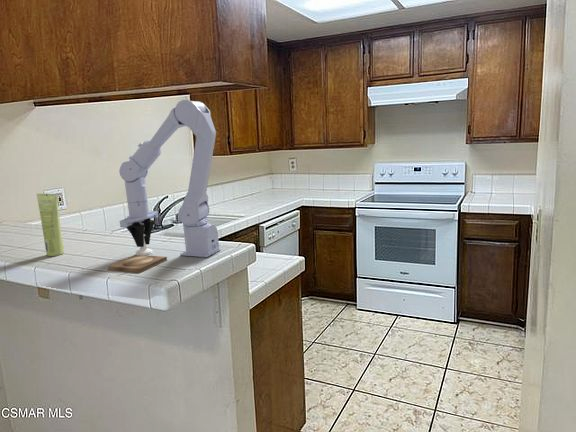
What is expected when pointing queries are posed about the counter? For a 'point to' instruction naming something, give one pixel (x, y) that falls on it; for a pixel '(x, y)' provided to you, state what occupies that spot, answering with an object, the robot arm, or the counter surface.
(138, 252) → the chess piece
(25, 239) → the counter surface
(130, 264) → the pedestal
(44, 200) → the tube
